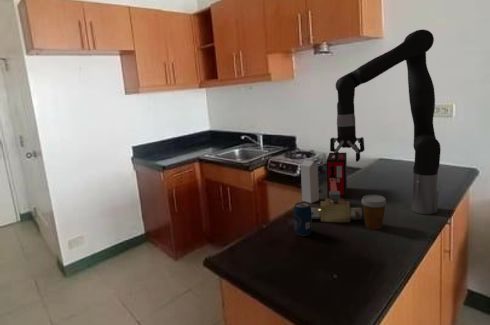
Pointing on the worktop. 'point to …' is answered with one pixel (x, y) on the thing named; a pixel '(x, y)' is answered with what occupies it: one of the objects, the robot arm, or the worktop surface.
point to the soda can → (302, 218)
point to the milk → (309, 180)
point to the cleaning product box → (337, 173)
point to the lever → (334, 191)
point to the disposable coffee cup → (373, 211)
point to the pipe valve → (336, 211)
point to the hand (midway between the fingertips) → (347, 161)
